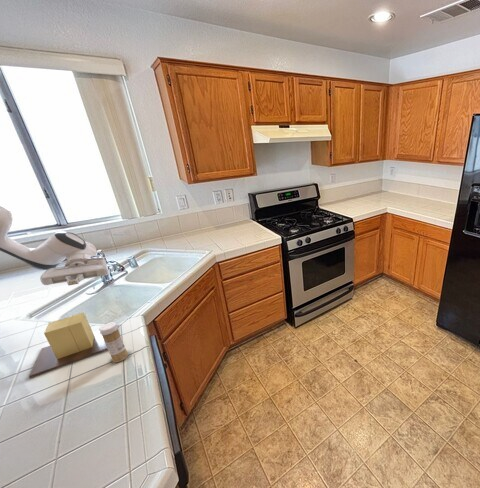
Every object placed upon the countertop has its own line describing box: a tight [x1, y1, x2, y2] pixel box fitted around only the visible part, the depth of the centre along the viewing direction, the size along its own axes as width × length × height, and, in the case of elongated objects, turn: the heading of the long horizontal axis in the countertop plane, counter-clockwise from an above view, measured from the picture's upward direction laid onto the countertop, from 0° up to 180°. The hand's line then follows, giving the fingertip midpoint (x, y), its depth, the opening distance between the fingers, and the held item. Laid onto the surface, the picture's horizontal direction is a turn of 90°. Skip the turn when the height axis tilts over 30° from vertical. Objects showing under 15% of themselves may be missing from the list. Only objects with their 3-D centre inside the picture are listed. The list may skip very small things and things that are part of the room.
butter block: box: [43, 315, 80, 359], centre depth 93 cm, size 6×7×11 cm
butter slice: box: [68, 311, 94, 351], centre depth 96 cm, size 3×8×11 cm, turn 35°
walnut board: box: [28, 329, 108, 379], centre depth 96 cm, size 22×16×1 cm
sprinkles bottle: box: [98, 321, 129, 363], centre depth 88 cm, size 5×5×14 cm
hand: (72, 283), depth 101 cm, fingers closed
